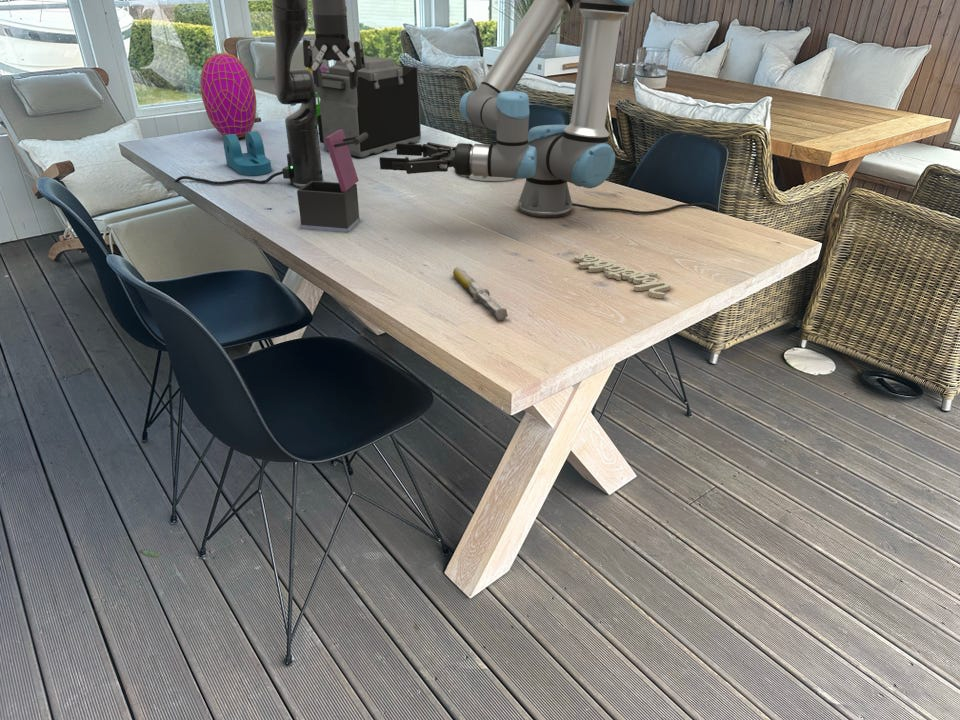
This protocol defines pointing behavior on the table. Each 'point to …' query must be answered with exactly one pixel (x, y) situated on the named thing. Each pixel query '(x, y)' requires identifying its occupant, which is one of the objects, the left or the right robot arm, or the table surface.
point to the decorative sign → (625, 274)
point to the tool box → (371, 105)
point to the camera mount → (246, 154)
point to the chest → (328, 206)
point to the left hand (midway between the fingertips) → (336, 87)
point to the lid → (343, 157)
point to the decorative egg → (228, 95)
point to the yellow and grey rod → (479, 293)
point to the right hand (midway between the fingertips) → (388, 155)
